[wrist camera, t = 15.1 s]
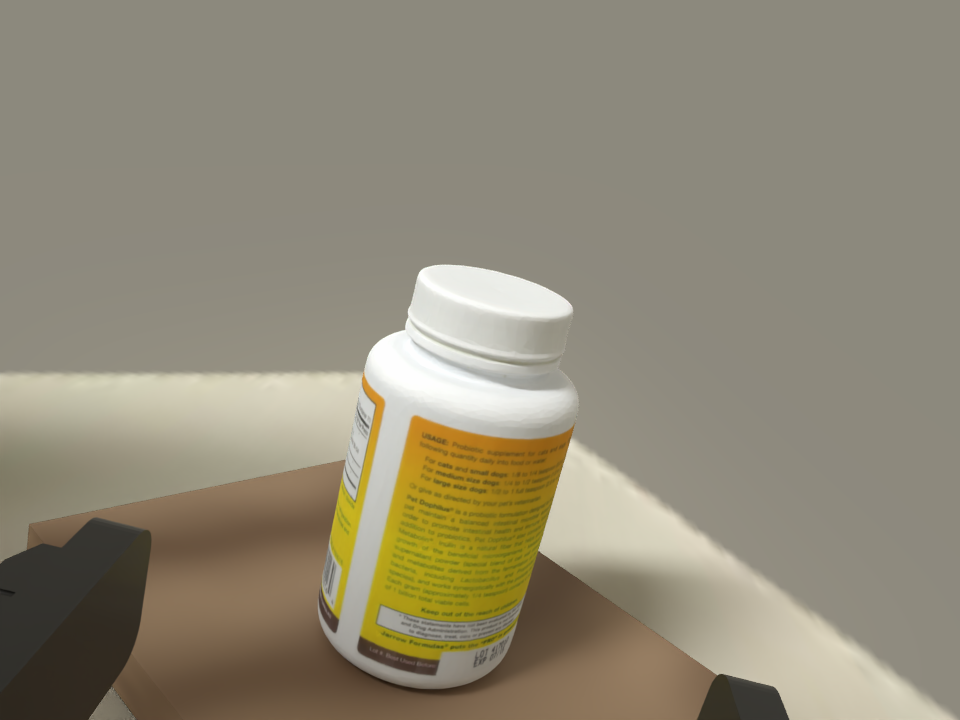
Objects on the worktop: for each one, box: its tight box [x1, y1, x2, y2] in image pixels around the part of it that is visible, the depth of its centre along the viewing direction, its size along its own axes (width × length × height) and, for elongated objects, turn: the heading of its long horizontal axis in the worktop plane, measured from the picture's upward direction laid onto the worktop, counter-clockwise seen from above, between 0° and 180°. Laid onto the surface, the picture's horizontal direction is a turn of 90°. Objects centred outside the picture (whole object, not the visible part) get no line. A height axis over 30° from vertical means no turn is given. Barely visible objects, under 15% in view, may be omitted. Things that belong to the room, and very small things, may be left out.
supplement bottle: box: [318, 265, 579, 689], centre depth 23 cm, size 6×6×10 cm
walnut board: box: [27, 460, 717, 720], centre depth 25 cm, size 18×14×2 cm
